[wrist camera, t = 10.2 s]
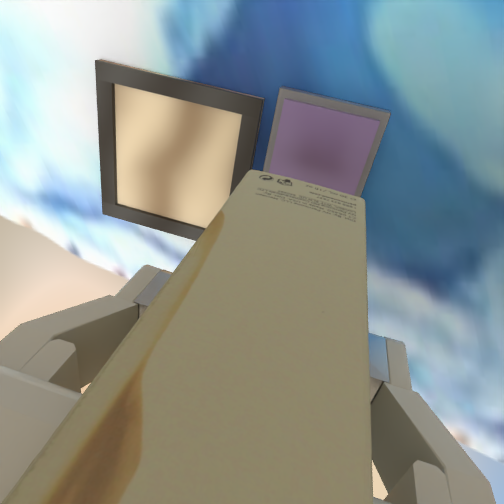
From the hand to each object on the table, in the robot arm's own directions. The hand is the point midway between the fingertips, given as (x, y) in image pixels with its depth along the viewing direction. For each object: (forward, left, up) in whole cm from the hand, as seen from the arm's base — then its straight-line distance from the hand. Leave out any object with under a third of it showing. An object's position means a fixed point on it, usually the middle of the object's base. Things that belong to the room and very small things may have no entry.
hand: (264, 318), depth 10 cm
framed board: (+10, +4, -18) cm, 21 cm away
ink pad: (0, 0, -18) cm, 18 cm away
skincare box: (0, +1, -5) cm, 5 cm away
